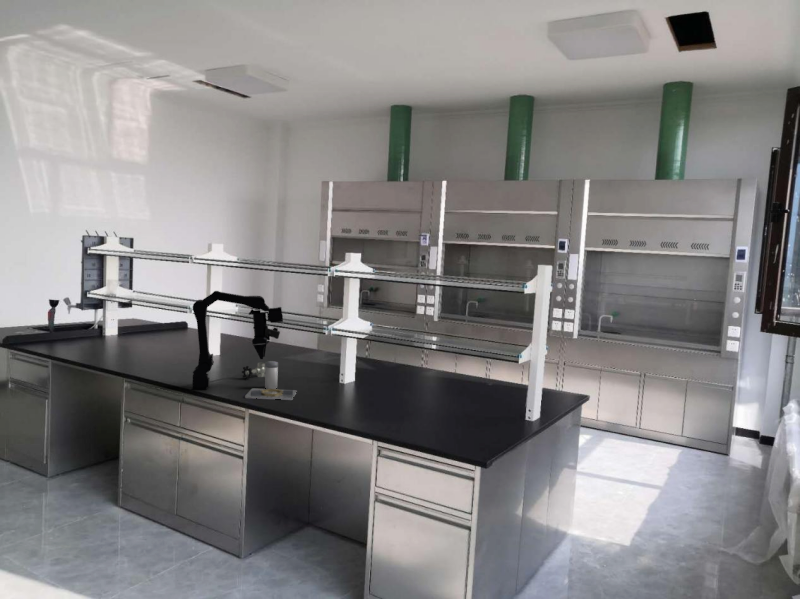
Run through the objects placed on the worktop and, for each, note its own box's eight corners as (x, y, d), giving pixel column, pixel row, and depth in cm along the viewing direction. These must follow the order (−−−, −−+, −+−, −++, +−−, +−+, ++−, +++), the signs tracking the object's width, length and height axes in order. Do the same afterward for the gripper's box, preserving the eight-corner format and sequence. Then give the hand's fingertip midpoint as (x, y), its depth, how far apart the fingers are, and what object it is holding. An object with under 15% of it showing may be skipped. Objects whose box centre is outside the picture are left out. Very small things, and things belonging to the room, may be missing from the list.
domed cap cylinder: (263, 389, 285) (264, 363, 284) (266, 386, 290) (266, 360, 289) (276, 389, 285) (276, 363, 284) (278, 386, 290) (279, 361, 289)
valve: (259, 374, 314) (241, 378, 304) (259, 361, 314) (241, 365, 304) (268, 376, 311) (251, 380, 301) (269, 363, 310) (251, 367, 300)
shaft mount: (244, 398, 267) (245, 392, 267) (252, 390, 281) (252, 385, 281) (292, 400, 268) (292, 394, 267) (296, 392, 282) (296, 386, 281)
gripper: (276, 323, 275) (279, 359, 276) (279, 321, 294) (281, 354, 294) (250, 325, 274) (253, 361, 274) (255, 323, 292) (257, 356, 293)
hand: (262, 358), depth 284 cm, fingers open, 9 cm apart
